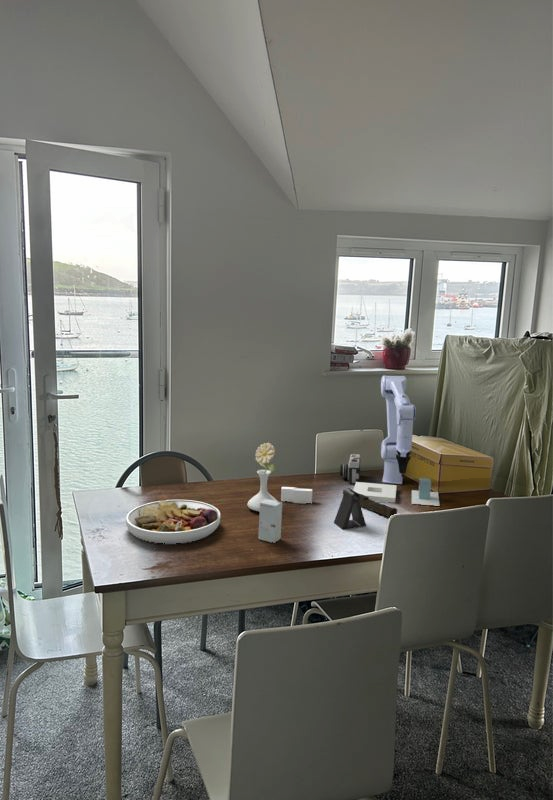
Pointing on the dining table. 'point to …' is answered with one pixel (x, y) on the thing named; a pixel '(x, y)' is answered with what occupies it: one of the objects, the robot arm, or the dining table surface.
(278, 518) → the skincare box
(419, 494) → the teal rectangular block
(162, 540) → the bowl
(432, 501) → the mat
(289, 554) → the dining table surface
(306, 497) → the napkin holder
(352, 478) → the camera
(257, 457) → the flower in vase
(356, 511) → the phone stand
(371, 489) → the plate
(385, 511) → the dark brown wooden bar
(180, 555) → the dining table surface
